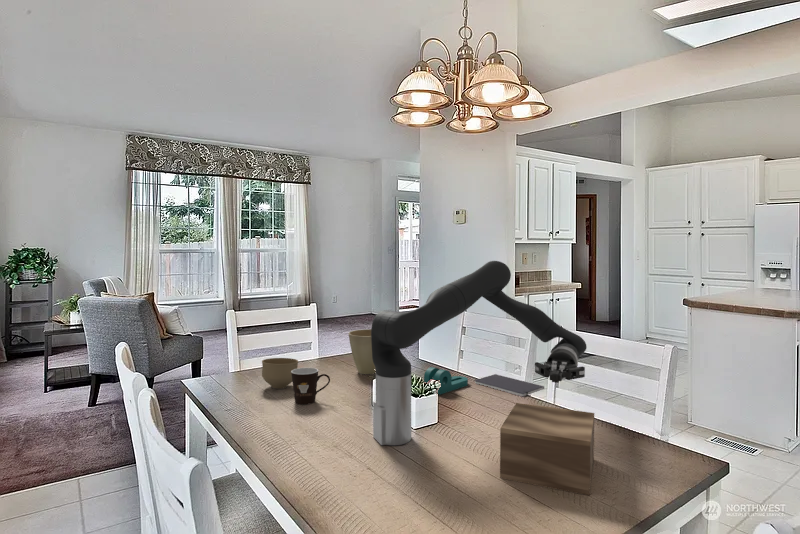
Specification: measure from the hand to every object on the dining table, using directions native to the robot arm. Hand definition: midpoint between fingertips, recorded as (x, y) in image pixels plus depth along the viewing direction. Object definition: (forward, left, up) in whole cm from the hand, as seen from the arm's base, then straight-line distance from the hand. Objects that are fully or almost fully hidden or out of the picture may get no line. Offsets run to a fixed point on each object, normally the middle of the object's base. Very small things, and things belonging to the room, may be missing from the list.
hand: (555, 378), depth 116 cm
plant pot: (-18, +88, -18) cm, 91 cm away
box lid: (-7, -6, -8) cm, 12 cm away
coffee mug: (-47, +61, -18) cm, 79 cm away
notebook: (+22, +50, -19) cm, 58 cm away
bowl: (-53, +81, -18) cm, 98 cm away
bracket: (+2, +57, -18) cm, 60 cm away
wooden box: (-7, -6, -18) cm, 20 cm away
